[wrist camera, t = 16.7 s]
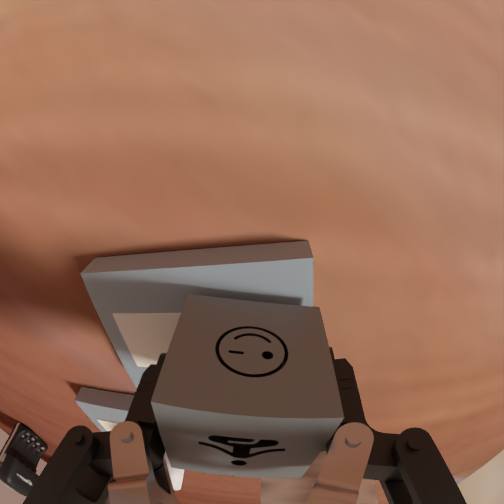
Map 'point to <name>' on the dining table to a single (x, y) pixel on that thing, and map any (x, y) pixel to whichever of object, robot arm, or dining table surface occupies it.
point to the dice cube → (247, 389)
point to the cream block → (307, 487)
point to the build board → (188, 290)
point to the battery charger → (21, 459)
